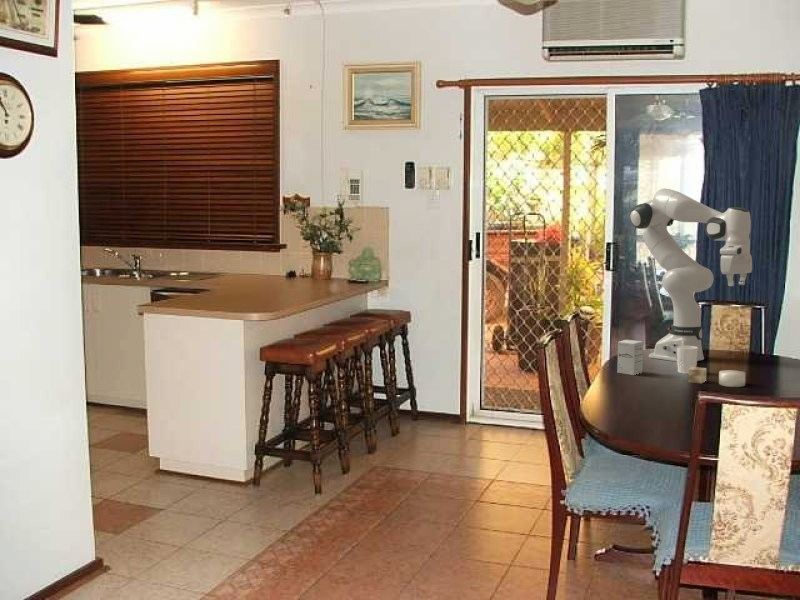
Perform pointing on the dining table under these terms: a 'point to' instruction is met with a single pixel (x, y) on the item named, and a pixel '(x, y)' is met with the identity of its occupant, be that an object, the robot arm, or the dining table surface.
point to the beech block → (697, 375)
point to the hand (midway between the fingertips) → (736, 285)
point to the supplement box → (630, 357)
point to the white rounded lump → (732, 378)
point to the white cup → (686, 358)
